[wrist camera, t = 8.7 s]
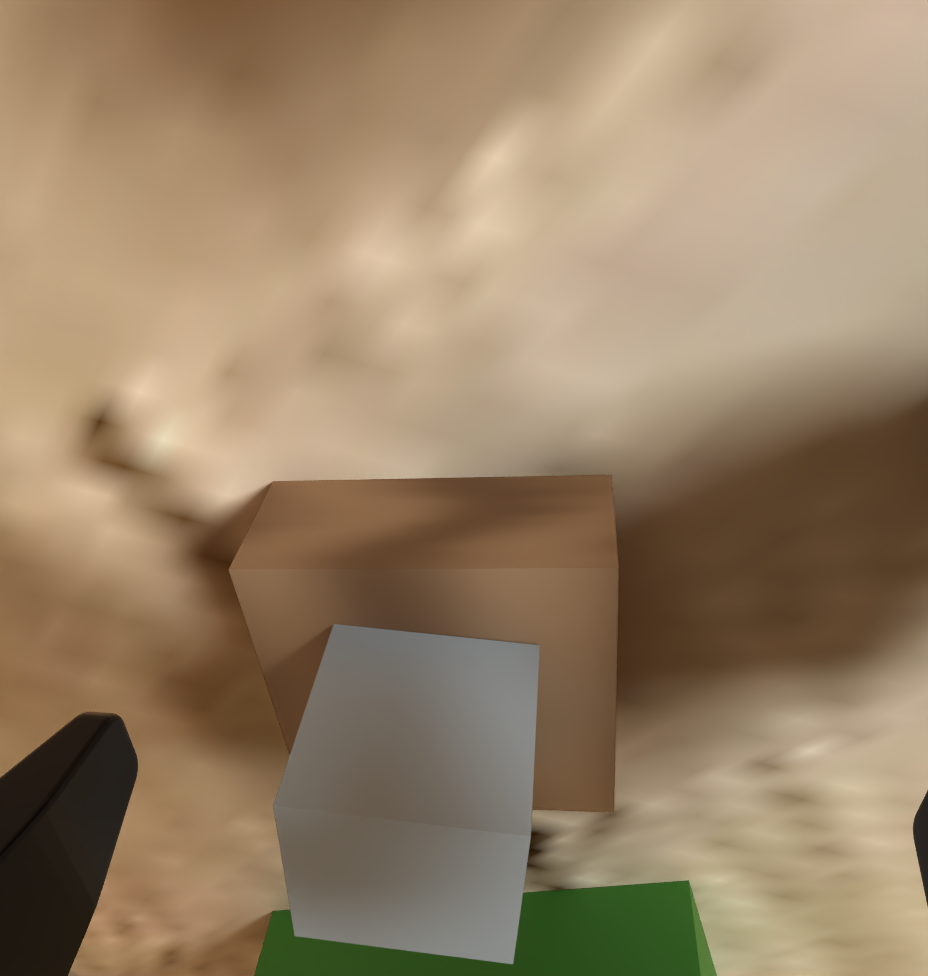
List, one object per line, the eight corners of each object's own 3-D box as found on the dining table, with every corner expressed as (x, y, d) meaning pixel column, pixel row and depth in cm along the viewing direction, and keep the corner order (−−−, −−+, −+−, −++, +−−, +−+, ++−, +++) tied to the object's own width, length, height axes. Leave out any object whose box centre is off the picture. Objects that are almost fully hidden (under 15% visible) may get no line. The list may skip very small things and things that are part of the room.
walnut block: (610, 467, 22) (618, 568, 18) (608, 701, 27) (614, 812, 23) (277, 473, 23) (228, 569, 20) (335, 696, 28) (305, 801, 25)
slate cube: (539, 645, 20) (530, 836, 16) (524, 774, 23) (513, 964, 19) (333, 624, 20) (273, 805, 16) (343, 754, 23) (294, 936, 19)
